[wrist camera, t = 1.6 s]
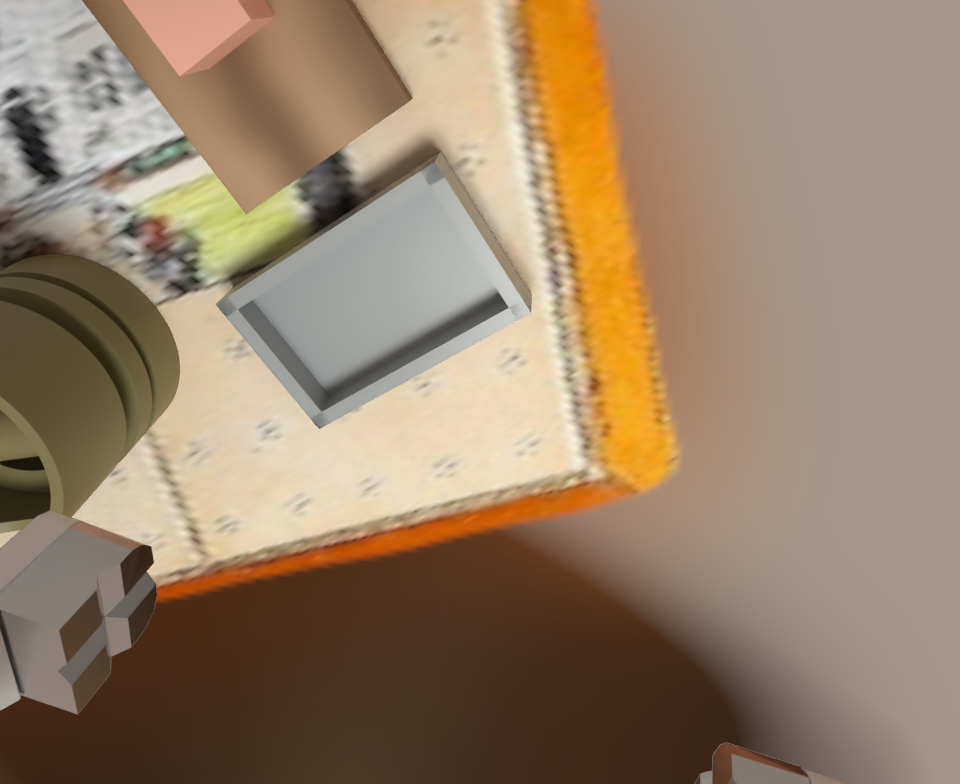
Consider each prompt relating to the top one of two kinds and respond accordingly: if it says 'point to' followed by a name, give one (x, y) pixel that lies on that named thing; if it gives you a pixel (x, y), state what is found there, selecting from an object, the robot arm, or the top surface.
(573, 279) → the top surface
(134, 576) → the robot arm
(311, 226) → the top surface
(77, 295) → the piston
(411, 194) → the tray
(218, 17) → the salmon pink rectangular prism
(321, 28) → the brown slab
